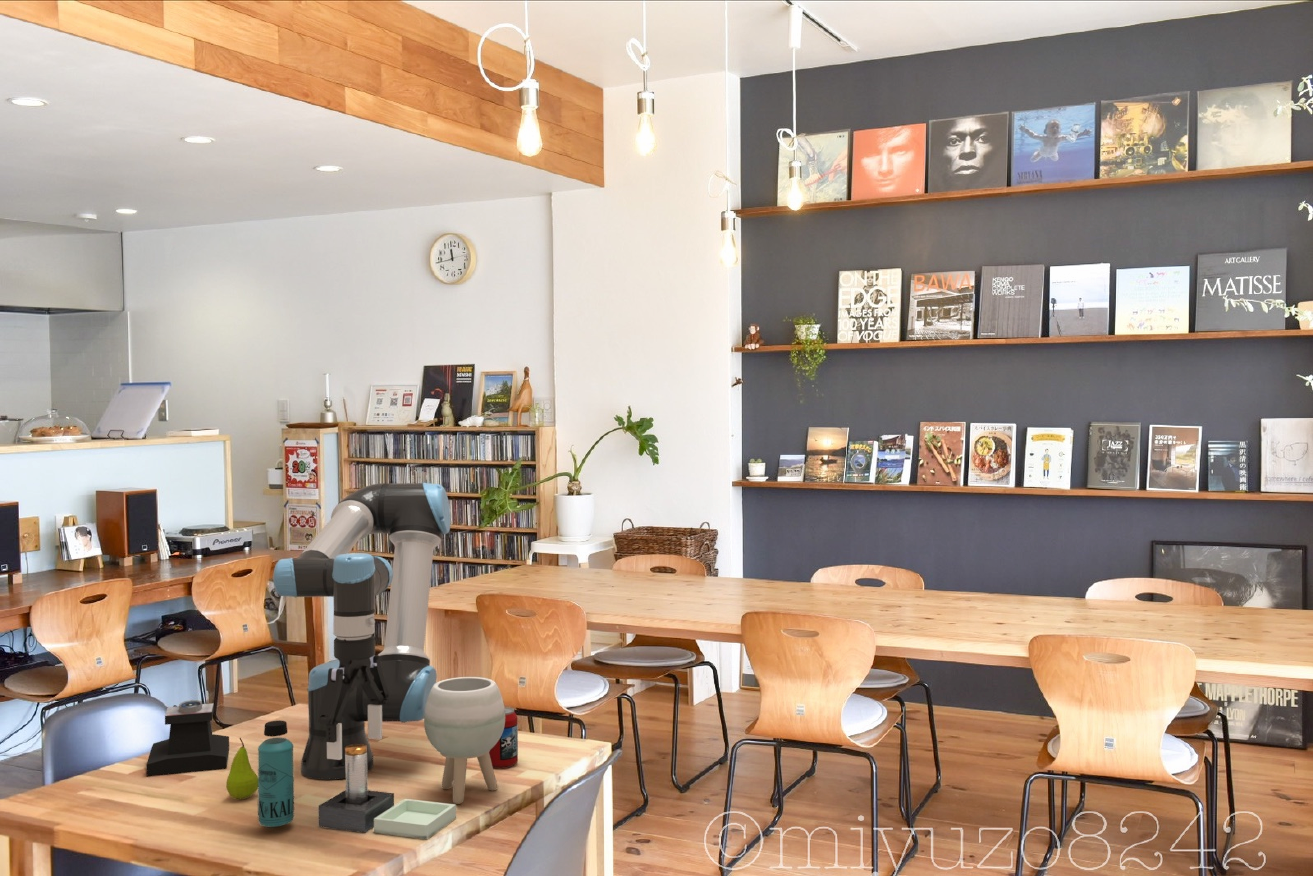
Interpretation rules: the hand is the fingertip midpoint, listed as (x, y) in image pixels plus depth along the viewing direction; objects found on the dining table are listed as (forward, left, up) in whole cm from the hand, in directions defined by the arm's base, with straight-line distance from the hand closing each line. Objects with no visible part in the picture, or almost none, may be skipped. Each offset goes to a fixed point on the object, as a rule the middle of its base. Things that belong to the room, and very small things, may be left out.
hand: (355, 748), depth 211 cm
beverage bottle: (-12, -8, -14) cm, 20 cm away
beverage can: (+12, +38, -14) cm, 43 cm away
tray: (+12, +1, -14) cm, 18 cm away
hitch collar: (0, 0, -14) cm, 14 cm away
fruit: (-29, +4, -14) cm, 33 cm away
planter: (+13, +19, -14) cm, 27 cm away
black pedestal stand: (-55, +20, -14) cm, 60 cm away
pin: (0, 0, -14) cm, 14 cm away
